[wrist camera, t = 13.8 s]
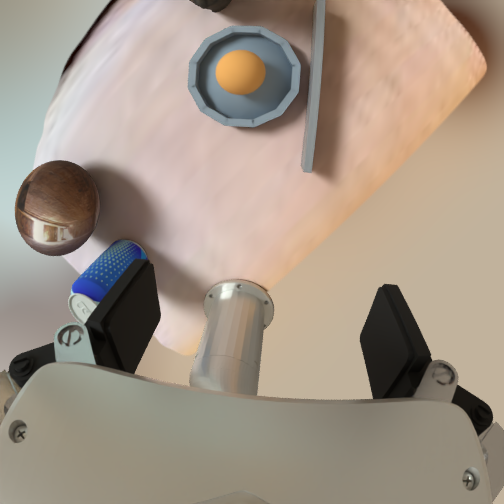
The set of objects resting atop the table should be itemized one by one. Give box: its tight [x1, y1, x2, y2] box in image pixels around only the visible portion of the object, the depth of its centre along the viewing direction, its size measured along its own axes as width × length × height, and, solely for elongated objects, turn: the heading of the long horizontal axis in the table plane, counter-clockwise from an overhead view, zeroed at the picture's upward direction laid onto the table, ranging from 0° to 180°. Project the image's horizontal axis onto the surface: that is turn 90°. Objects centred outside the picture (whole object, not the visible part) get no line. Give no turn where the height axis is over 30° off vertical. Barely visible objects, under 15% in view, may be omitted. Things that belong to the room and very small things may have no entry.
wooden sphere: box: [15, 160, 100, 256], centre depth 36 cm, size 15×15×15 cm
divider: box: [301, 0, 325, 173], centre depth 30 cm, size 24×1×4 cm, turn 176°
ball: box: [216, 50, 266, 95], centre depth 29 cm, size 6×6×6 cm
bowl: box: [188, 26, 301, 127], centre depth 31 cm, size 14×14×2 cm
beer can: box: [68, 240, 148, 325], centre depth 41 cm, size 8×8×16 cm
